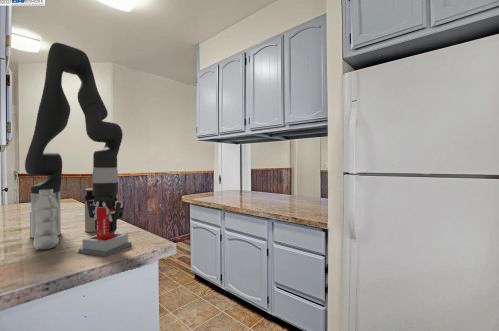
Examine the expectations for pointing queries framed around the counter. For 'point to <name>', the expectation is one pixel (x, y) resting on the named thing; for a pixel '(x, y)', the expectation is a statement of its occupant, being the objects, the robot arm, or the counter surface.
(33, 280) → the counter surface
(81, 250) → the can holder
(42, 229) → the plastic bottle
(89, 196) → the travel mug
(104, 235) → the beverage can
